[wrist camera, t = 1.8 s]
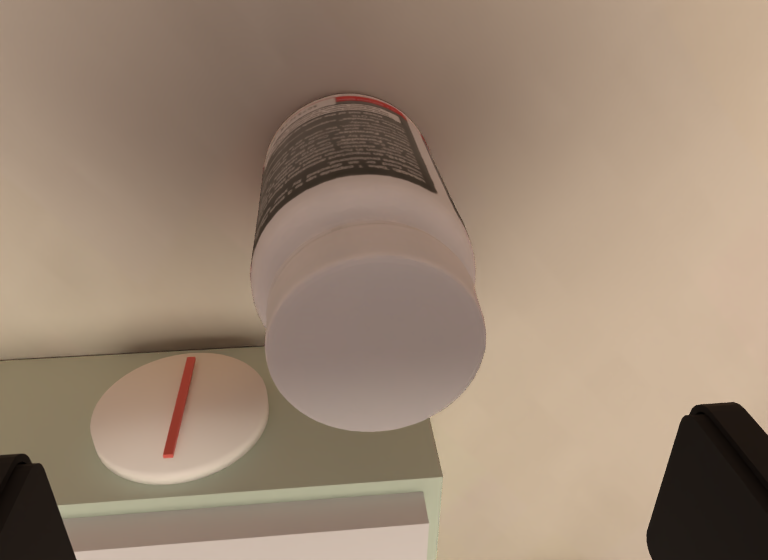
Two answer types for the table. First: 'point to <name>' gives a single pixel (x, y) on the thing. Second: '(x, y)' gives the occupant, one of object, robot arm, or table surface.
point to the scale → (214, 462)
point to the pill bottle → (363, 270)
